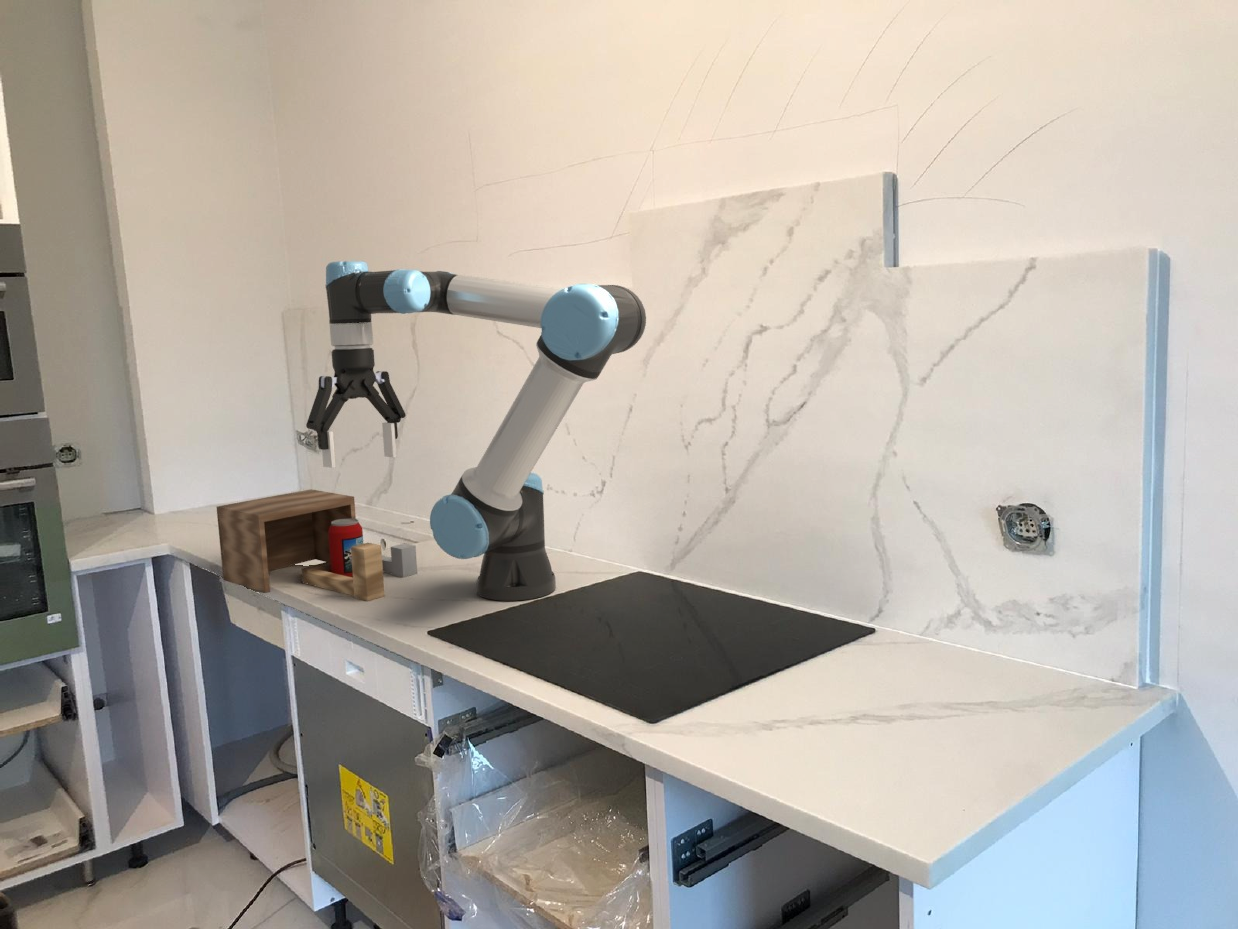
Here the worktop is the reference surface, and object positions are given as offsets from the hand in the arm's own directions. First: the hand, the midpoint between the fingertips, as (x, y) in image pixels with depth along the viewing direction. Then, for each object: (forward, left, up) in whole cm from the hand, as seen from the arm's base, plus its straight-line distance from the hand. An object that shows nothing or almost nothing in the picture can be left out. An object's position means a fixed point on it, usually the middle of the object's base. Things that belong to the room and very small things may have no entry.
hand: (360, 461), depth 186 cm
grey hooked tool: (+13, -14, -26) cm, 33 cm away
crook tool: (+9, -3, -26) cm, 28 cm away
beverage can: (+15, -6, -26) cm, 31 cm away
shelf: (+28, -1, -26) cm, 39 cm away
